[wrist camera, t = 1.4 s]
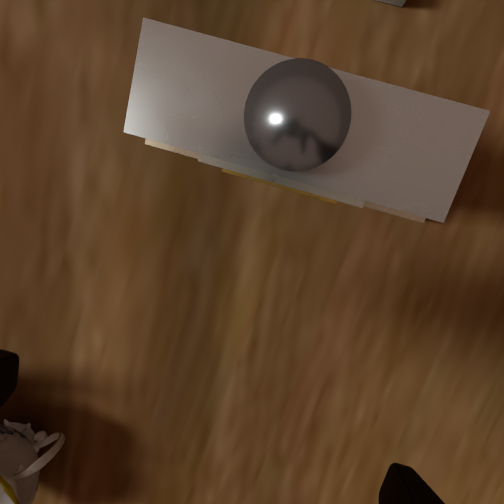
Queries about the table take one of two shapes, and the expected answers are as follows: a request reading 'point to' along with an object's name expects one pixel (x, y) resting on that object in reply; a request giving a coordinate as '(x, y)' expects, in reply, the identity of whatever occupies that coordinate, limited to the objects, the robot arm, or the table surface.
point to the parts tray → (394, 2)
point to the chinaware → (23, 460)
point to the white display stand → (300, 123)
